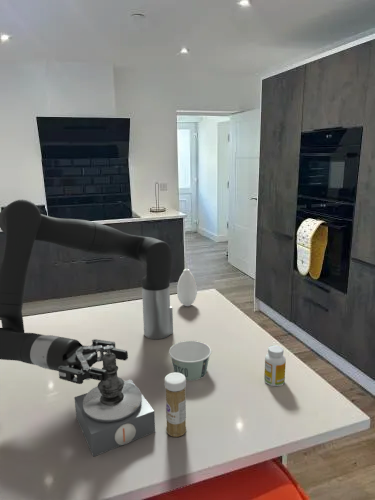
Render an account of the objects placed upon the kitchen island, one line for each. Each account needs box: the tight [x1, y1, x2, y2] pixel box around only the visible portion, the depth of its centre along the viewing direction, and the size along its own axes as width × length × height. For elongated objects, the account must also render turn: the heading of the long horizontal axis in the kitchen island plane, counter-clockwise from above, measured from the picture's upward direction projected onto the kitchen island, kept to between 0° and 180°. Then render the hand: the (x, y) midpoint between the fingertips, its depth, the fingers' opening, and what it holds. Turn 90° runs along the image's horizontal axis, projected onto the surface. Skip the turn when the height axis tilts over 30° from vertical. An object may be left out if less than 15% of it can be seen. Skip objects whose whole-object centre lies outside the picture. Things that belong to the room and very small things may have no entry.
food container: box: [168, 340, 212, 381], centre depth 107 cm, size 12×12×6 cm
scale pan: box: [83, 382, 143, 423], centre depth 85 cm, size 13×13×3 cm
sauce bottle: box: [176, 263, 198, 307], centre depth 152 cm, size 8×8×18 cm
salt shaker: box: [97, 350, 125, 406], centre depth 84 cm, size 6×6×12 cm
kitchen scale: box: [73, 379, 156, 457], centre depth 86 cm, size 14×15×5 cm
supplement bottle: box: [263, 344, 286, 387], centre depth 101 cm, size 5×5×10 cm
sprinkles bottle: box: [164, 372, 187, 438], centre depth 83 cm, size 5×5×14 cm
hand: (117, 365), depth 82 cm, fingers open, 8 cm apart
